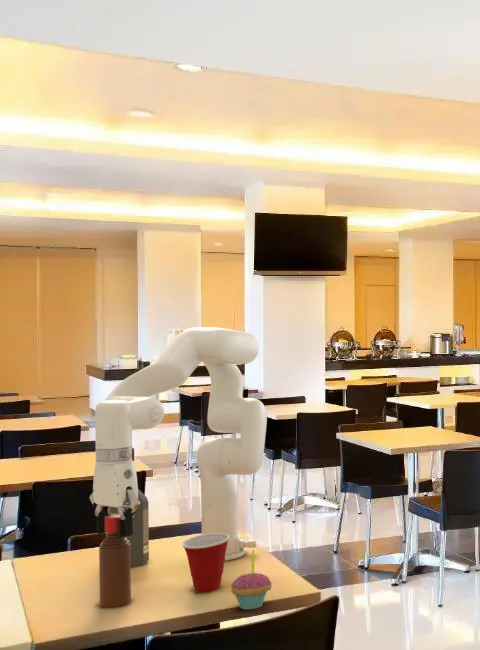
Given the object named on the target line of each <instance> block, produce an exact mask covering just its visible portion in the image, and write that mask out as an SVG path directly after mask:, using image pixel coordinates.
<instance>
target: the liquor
mask: <svg viewBox="0 0 480 650" xmlns="http://www.w3.org/2000/svg"><path fill="white" fill-rule="evenodd" d="M132 461H134V462H135V448H134V447H132ZM138 500H139V501H140V505H139V507H138V508H137V511H136V512H135V514H134V517H133V518H132V519H133V534H132V535H130V536H127V537H126V538H127V540H129V543H130V564H131V568H136V567H142V566H144V565H146V564H147V563H148V562H149V560H150V537H149V536H150V534H149V533H150V532H149V531H150V529H149V527H150V523H149V522H150V520H149V518H150V517H149V514H150V513H149V500H148V497H147V496H146V495H145V494H144V493H143V492H142V491H141V490H140V489H139V488H138ZM123 505H125V503H123ZM123 509H124V512H125V511H126V510H127V508H123ZM108 514H111V515H117V514H119V512H118V509H117V508H116V507H110V510H109V513H108ZM107 534H108V533H107V532H106V533H105V537H107Z"/></svg>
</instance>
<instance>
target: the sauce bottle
mask: <svg viewBox="0 0 480 650" xmlns="http://www.w3.org/2000/svg"><path fill="white" fill-rule="evenodd" d="M98 559H99V560H98V565H99V566H98V567H99V568H98V569H99V571H98V574H99V580H98V581H99V606H100V607H101V608H107V609H108V608H118V607H122V606H123V607H124V606H126V605H128V604H129V603H131V601H132V586H131V581H132V580H131V578H132V577H131V575H132V574H131V572H132V571H131V570H132V569H131V568H132V567H131V564H130V543H129V540H127V538H126V537H123V538H120V537H119V532H115V533H108V534H107V537H106V536H105V537H104V538H103V540H102V541H101V543H100V545H99V547H98Z"/></svg>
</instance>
